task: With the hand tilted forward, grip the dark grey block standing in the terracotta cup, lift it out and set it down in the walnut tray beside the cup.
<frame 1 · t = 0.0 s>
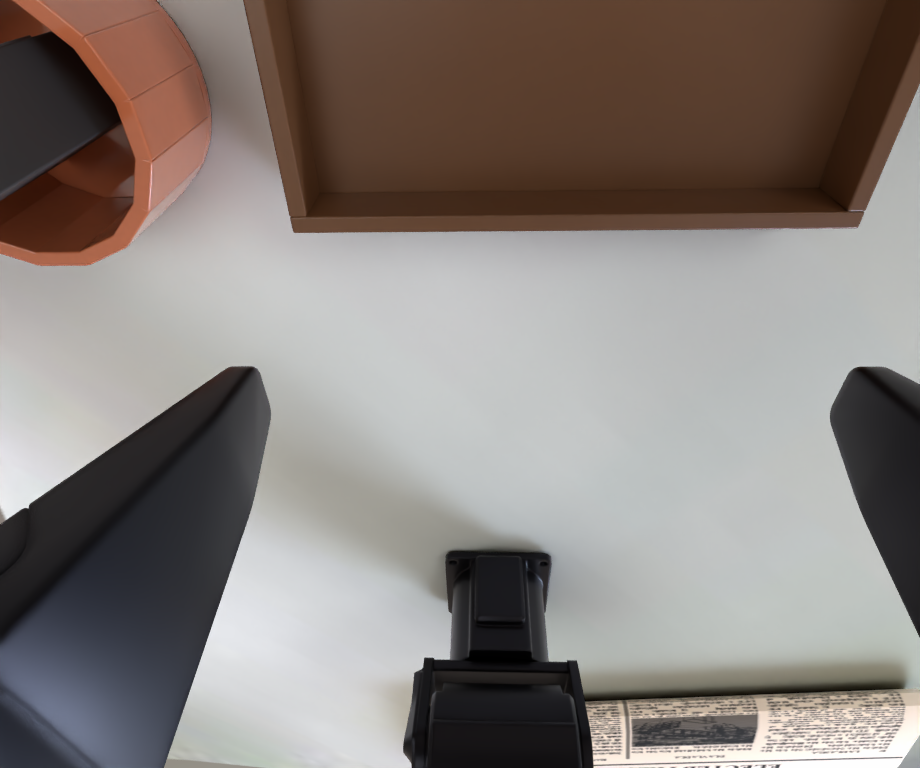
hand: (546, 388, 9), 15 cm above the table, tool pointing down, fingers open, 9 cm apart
holder cup: (90, 89, 20), on the table, touching dark grey block
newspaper: (661, 733, 54), on the table
dark grey block: (82, 93, 20), resting on holder cup
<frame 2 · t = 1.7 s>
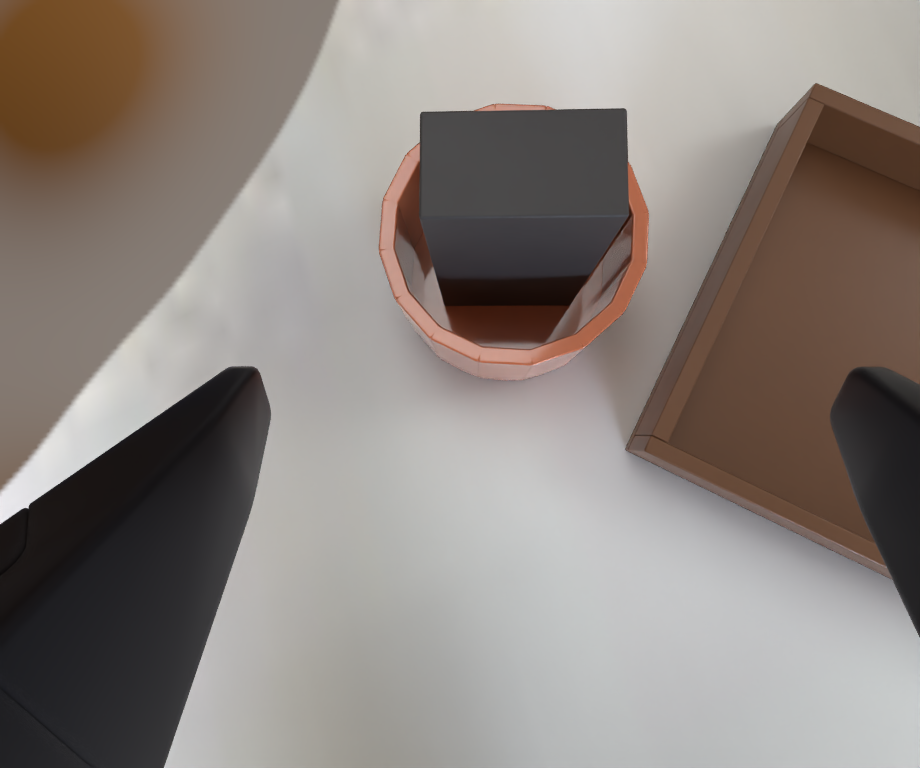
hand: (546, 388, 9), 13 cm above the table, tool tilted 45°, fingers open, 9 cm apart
holder cup: (506, 276, 23), on the table, touching dark grey block
dark grey block: (506, 272, 23), resting on holder cup
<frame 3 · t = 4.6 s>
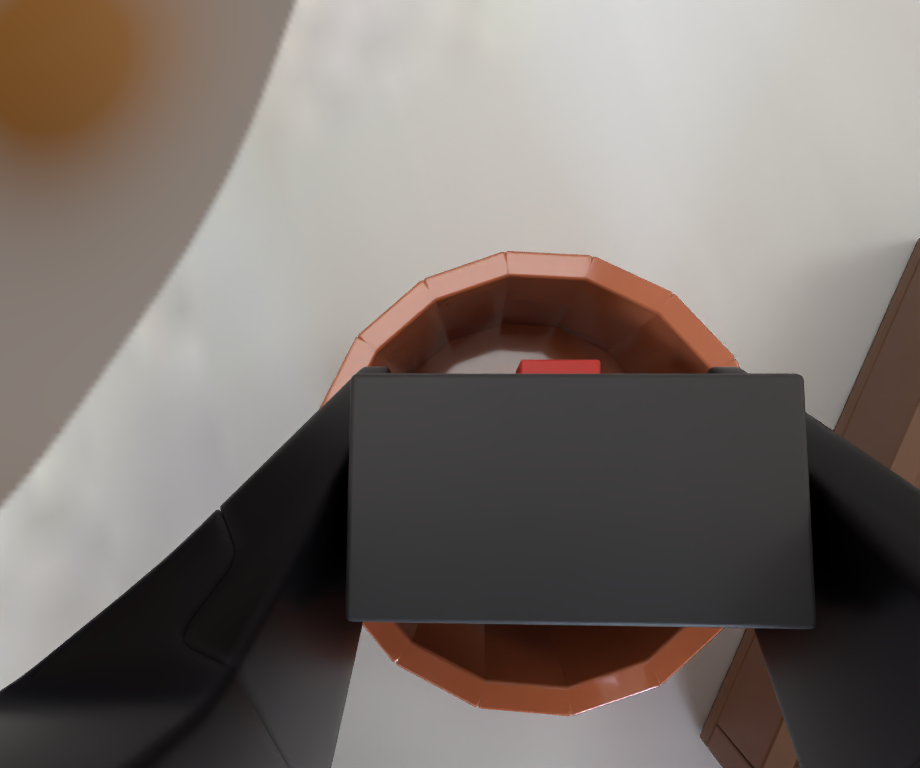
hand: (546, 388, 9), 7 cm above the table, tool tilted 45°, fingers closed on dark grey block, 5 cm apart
holder cup: (519, 464, 16), on the table, touching dark grey block
dark grey block: (520, 464, 15), resting on holder cup, touching gripper
when the fingers open (7 cm above the table, at t = 11.4 s): dark grey block stays where it is, resting on tray.
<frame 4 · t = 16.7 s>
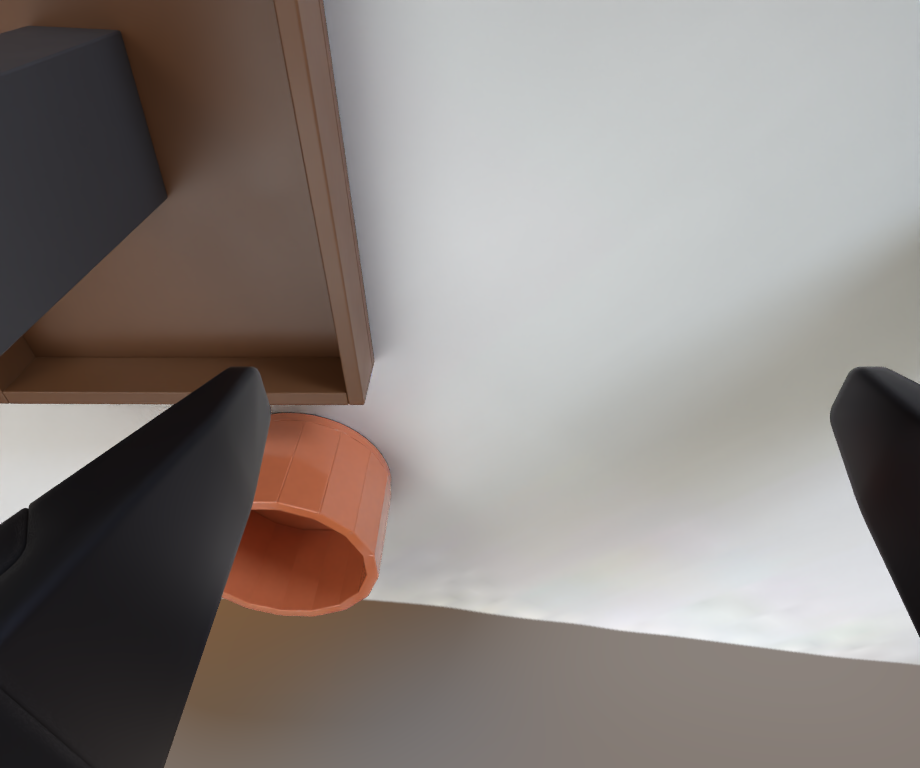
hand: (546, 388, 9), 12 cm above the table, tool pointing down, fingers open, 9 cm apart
tray: (111, 113, 18), on the table
holder cup: (306, 475, 29), on the table
dark grey block: (104, 119, 18), resting on tray
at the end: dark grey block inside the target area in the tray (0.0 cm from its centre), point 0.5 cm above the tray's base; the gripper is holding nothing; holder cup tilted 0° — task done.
